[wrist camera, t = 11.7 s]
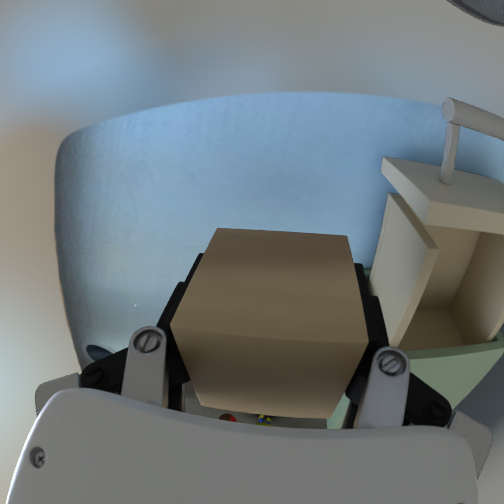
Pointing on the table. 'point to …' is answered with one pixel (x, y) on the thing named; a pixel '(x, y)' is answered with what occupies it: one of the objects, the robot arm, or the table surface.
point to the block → (272, 323)
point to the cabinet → (443, 370)
